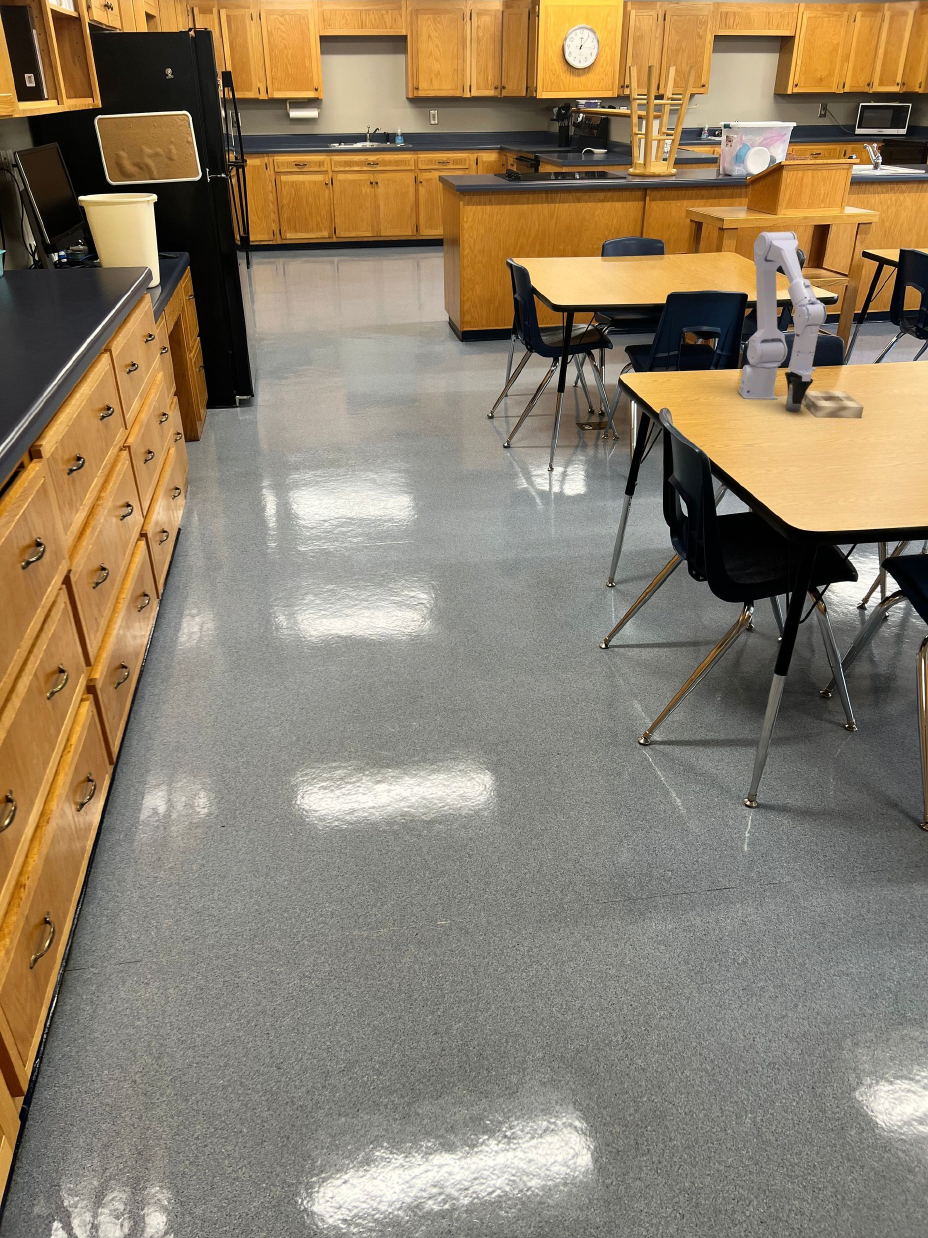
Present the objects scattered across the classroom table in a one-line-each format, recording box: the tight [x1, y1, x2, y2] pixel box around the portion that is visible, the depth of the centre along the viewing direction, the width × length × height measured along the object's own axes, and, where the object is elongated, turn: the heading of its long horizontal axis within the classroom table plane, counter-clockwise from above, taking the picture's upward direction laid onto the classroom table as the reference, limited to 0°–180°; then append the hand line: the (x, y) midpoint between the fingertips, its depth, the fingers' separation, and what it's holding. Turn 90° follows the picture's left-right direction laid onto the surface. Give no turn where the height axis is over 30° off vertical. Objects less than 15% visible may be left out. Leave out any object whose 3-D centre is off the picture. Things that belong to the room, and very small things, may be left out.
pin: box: [784, 383, 803, 413], centre depth 246 cm, size 4×4×7 cm
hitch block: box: [801, 390, 865, 419], centre depth 248 cm, size 12×16×3 cm
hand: (794, 401), depth 247 cm, fingers closed on pin, 4 cm apart
